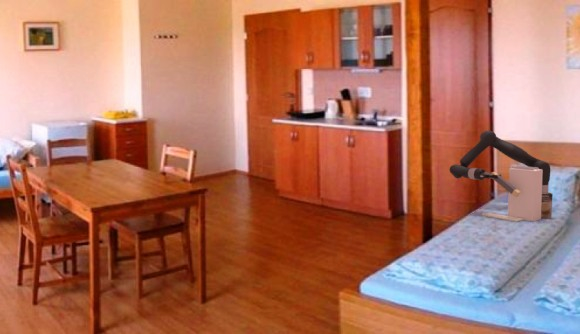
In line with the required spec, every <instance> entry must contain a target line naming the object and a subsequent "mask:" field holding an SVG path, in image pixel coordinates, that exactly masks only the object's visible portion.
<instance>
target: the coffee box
mask: <svg viewBox="0 0 580 334" xmlns="http://www.w3.org/2000/svg"><path fill="white" fill-rule="evenodd" d="M553 197H554V195H553V193H551V192H548V193H545V192H542V201H541V219H552V218H553V217H552V214H553Z"/></svg>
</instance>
